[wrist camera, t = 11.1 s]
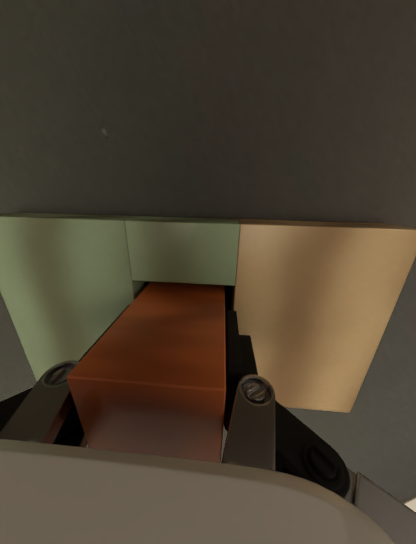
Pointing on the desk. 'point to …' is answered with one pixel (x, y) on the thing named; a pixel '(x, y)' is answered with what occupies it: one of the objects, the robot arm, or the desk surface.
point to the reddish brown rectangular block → (158, 375)
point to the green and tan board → (218, 271)
